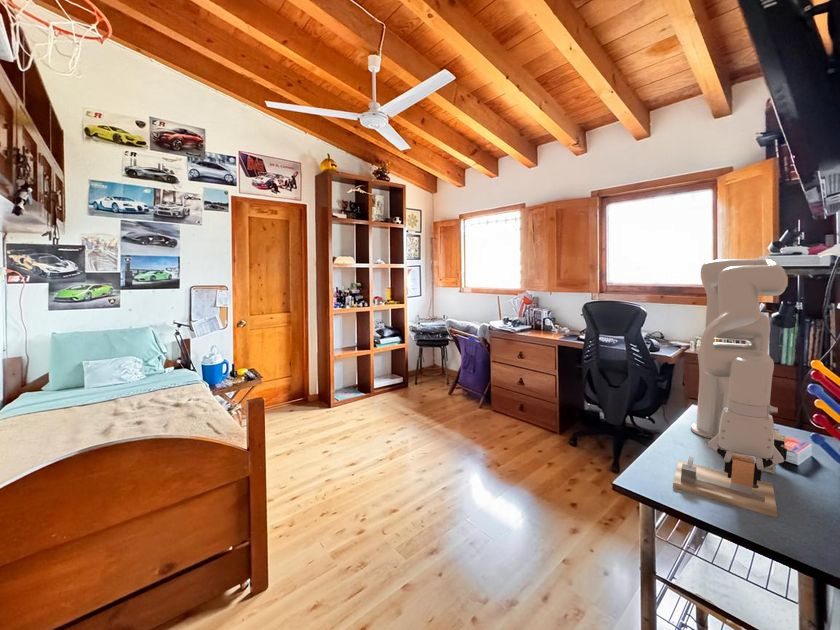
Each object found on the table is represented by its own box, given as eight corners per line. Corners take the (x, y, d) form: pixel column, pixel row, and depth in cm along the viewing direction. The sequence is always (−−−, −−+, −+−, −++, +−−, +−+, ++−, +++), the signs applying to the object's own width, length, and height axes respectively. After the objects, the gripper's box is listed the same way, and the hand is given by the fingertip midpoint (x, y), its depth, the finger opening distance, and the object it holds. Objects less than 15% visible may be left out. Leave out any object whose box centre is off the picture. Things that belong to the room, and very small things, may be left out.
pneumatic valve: (758, 477, 103) (762, 435, 101) (753, 458, 112) (756, 420, 110) (786, 483, 99) (790, 440, 98) (778, 464, 109) (782, 424, 107)
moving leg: (730, 477, 100) (732, 445, 99) (750, 482, 97) (753, 449, 96) (730, 493, 93) (732, 459, 92) (751, 499, 90) (754, 464, 89)
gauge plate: (678, 464, 110) (679, 448, 109) (771, 489, 97) (773, 470, 97) (672, 487, 99) (673, 469, 99) (776, 517, 87) (778, 497, 86)
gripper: (794, 410, 88) (787, 483, 90) (705, 396, 98) (700, 462, 101) (798, 421, 82) (790, 499, 84) (703, 405, 93) (698, 474, 95)
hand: (741, 478), depth 93 cm, fingers closed on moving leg, 4 cm apart
